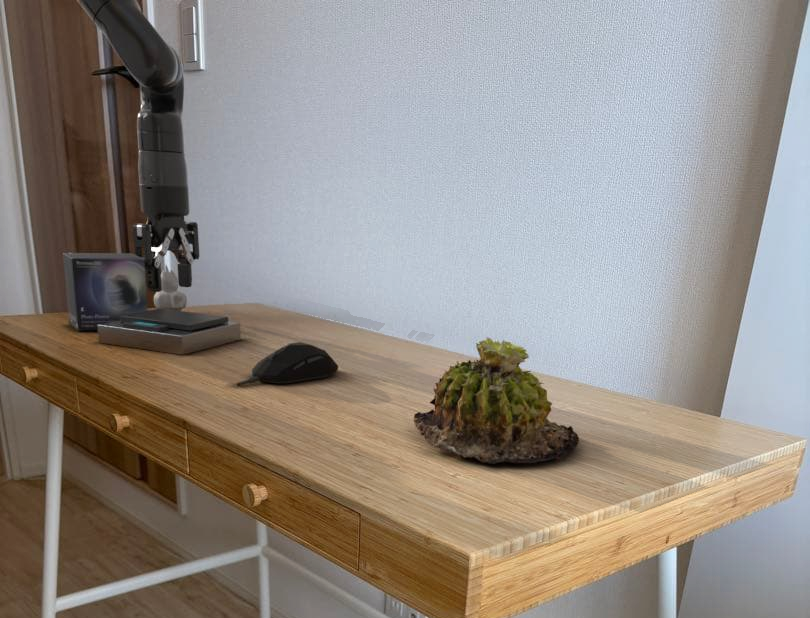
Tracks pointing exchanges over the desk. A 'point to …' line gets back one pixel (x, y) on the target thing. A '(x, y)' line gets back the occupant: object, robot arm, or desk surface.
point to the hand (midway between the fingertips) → (170, 289)
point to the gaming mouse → (293, 365)
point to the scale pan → (175, 319)
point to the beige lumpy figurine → (169, 293)
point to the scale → (167, 336)
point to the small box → (103, 287)
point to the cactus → (494, 411)
